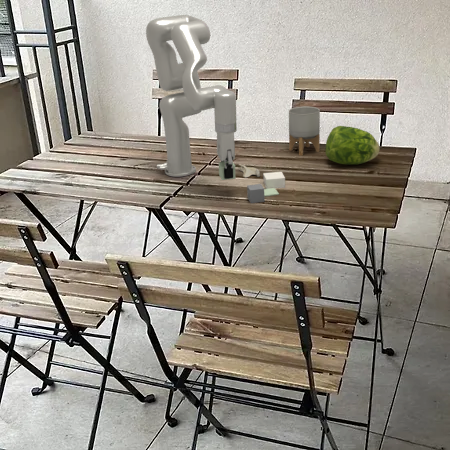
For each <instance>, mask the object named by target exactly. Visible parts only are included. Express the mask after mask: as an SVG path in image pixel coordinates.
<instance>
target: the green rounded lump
mask: <svg viewBox="0 0 450 450" xmlns="http://www.w3.org/2000/svg"><path fill="white" fill-rule="evenodd" d="M380 149H381V148H380V144H379V142H378V141H377V140H376V139H375V137H374V135H373V134H371V133H370V132H368V131H367V130H363V129H360V128H357V127H353V126H346V125H345V126H344V125H338V126H335V127H333V128H332V130H331V131H330V132H329V134H328V136H327V138H326V142H325V155H326V157H327V159H328V160H329V161H332V162H334V163H337V164H339V165H350V166H351V165H360V164H361V165H362V164H364V163H365V164H366V163H367V162H369V161H371V160H374V159H375V158H376V157H377V156H378V154H379V153H380Z"/></svg>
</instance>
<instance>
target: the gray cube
mask: <svg viewBox="0 0 450 450" xmlns="http://www.w3.org/2000/svg"><path fill="white" fill-rule="evenodd" d="M264 189H265V188H264V186H263V184H262V183H257V184H256V183H255V184H247V185H246V190H247V191H246V193H247V194H246V195H247V199H248V201H249V203H250V204H256V203H264V202H265V200H266V199H265V197H264Z"/></svg>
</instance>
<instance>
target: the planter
mask: <svg viewBox="0 0 450 450" xmlns="http://www.w3.org/2000/svg"><path fill="white" fill-rule="evenodd" d="M320 110H321V109H320V108H318V107H315V106H296V107H291V108H290V109H288V140H289V143H288V144H289V145H288V149H289V151H294V147H295V146H294V145H295V144H296V143H298V156H303V155H304V147H305V148H310V146H311V145H310V143H311V144H312V145H313V146H314V149H315V153H319V152H320V149H321V148H320V145H321V144H320V142H321V141H320V138H321V137H320V135H321V132H320V131H321V130H320V129H321V127H320V123H321V122H320V121H321V119H320V117H321V116H320V115H321V111H320Z"/></svg>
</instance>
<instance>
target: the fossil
mask: <svg viewBox="0 0 450 450" xmlns="http://www.w3.org/2000/svg"><path fill="white" fill-rule="evenodd" d="M238 166H240V168H238V170H239V171H241V172H243V175H242V177H243V178H248V177H250V176H252V175H254V176H256V177H257V178H259V177H260V175H261V173H260V172H261V171H260V170H259V169H258V168H256V167H249V166H246V165H244V164H241V163H239V164H238Z"/></svg>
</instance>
